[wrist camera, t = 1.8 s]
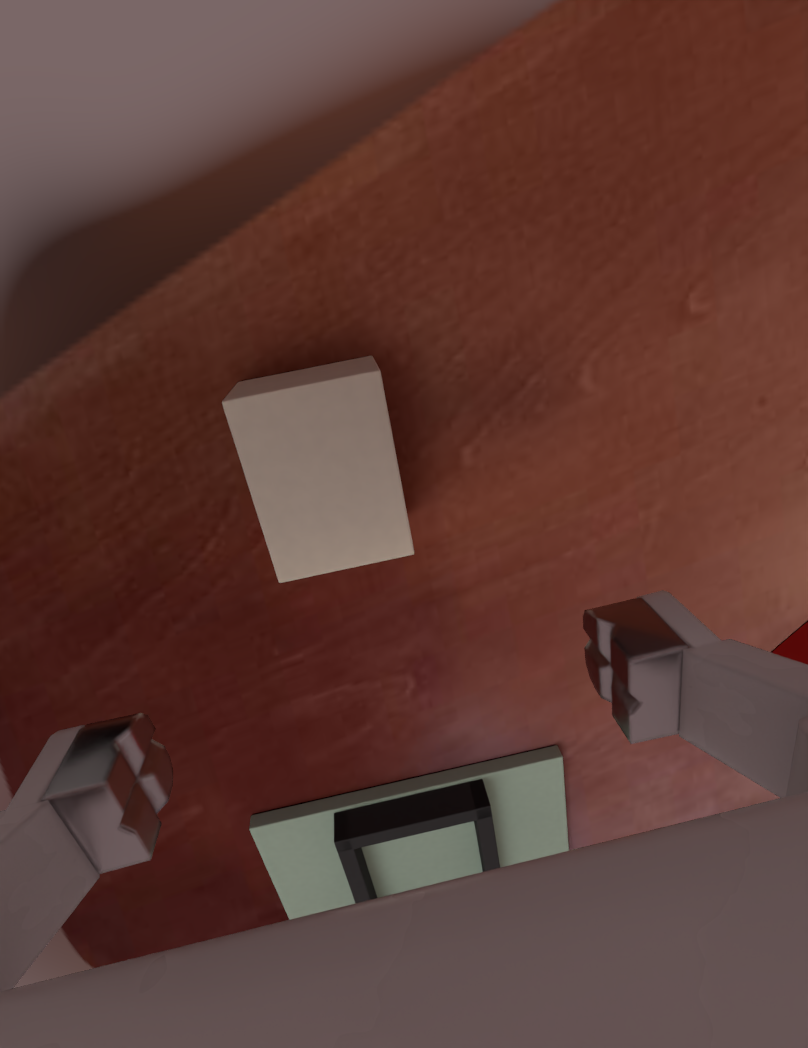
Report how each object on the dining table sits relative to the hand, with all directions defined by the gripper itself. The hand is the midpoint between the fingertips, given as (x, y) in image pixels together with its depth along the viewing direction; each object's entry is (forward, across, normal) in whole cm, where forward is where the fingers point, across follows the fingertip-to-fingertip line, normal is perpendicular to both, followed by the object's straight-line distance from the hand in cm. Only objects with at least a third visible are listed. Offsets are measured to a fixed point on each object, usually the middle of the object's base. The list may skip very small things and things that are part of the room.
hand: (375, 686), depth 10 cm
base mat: (+17, +2, +31) cm, 35 cm away
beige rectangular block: (+17, +1, +1) cm, 17 cm away
